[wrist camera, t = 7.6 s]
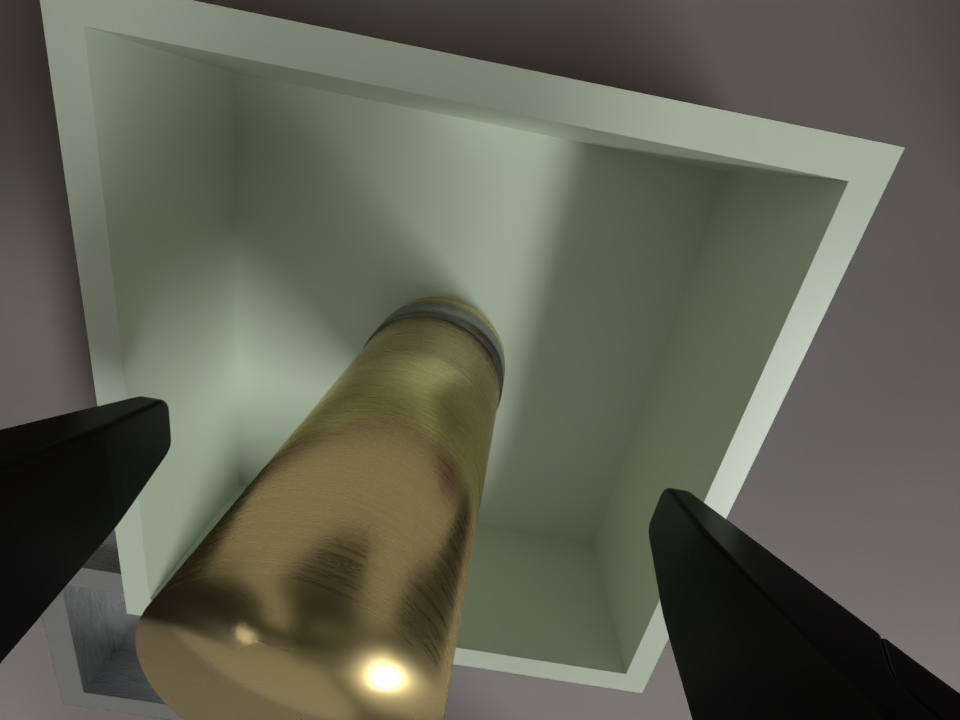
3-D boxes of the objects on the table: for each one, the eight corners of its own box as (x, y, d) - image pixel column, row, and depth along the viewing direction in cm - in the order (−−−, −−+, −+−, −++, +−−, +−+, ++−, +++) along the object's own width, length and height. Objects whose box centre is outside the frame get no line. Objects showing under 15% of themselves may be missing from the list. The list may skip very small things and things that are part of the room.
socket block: (307, 665, 20) (276, 747, 17) (108, 635, 20) (44, 713, 17) (317, 511, 17) (282, 581, 14) (81, 472, 17) (-2, 536, 14)
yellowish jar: (524, 319, 13) (489, 639, 5) (484, 430, 14) (408, 810, 6) (390, 276, 13) (124, 526, 5) (365, 393, 14) (136, 727, 6)
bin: (602, 547, 17) (641, 693, 12) (229, 485, 17) (127, 613, 12) (748, 150, 12) (904, 148, 7) (219, 42, 12) (35, -33, 7)
